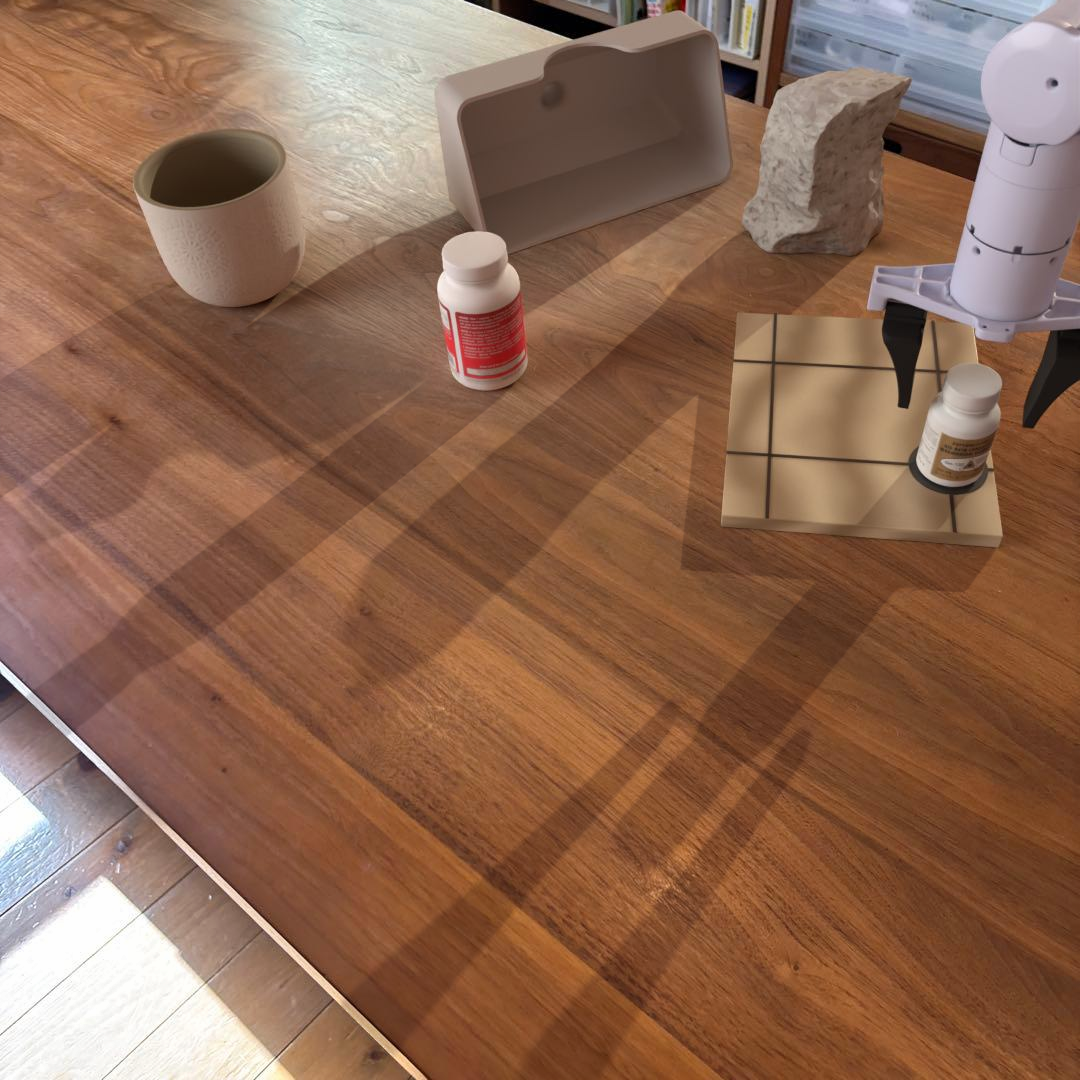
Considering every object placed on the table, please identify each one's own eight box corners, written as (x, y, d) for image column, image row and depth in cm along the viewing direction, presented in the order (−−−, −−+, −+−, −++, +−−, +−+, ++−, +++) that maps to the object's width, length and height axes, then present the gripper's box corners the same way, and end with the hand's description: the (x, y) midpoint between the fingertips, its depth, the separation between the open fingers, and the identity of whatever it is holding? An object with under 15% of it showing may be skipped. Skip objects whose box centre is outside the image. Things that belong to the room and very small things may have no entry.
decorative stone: (824, 191, 101) (846, 31, 90) (896, 237, 96) (928, 73, 85) (734, 230, 98) (746, 69, 87) (803, 280, 93) (824, 115, 82)
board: (969, 335, 87) (973, 322, 86) (998, 548, 72) (1003, 535, 71) (736, 324, 89) (737, 311, 88) (720, 527, 75) (721, 514, 74)
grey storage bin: (650, 106, 113) (651, -21, 104) (734, 178, 103) (744, 45, 94) (424, 176, 107) (403, 48, 98) (490, 260, 97) (474, 126, 88)
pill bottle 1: (544, 362, 88) (534, 243, 80) (491, 404, 85) (476, 285, 77) (486, 333, 91) (471, 214, 82) (434, 372, 88) (413, 254, 80)
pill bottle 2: (935, 496, 74) (960, 409, 68) (904, 452, 77) (925, 366, 71) (995, 480, 75) (1025, 393, 69) (961, 437, 77) (988, 350, 72)
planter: (174, 334, 93) (129, 221, 85) (175, 252, 102) (134, 141, 93) (320, 308, 94) (290, 194, 86) (310, 228, 103) (282, 117, 94)
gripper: (876, 249, 61) (842, 430, 71) (1164, 285, 57) (1084, 470, 67) (892, 181, 65) (857, 360, 75) (1160, 210, 62) (1086, 395, 72)
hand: (965, 408), depth 72 cm, fingers open, 7 cm apart
